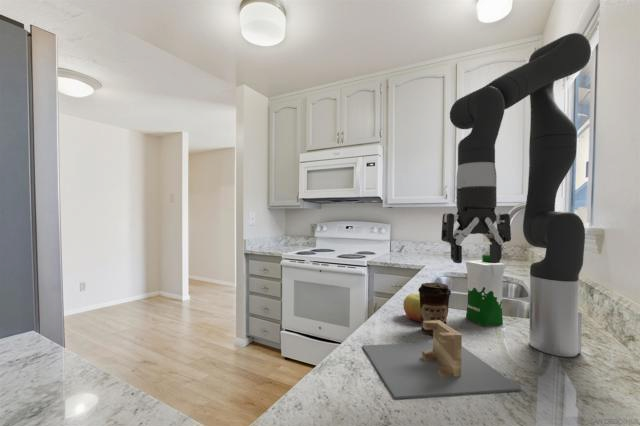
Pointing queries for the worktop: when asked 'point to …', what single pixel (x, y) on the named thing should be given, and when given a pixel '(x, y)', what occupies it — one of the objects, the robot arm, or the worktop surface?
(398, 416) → the worktop surface
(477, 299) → the milk carton
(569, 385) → the worktop surface
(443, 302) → the coffee cup
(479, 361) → the mat
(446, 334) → the wooden bench
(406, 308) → the apple
